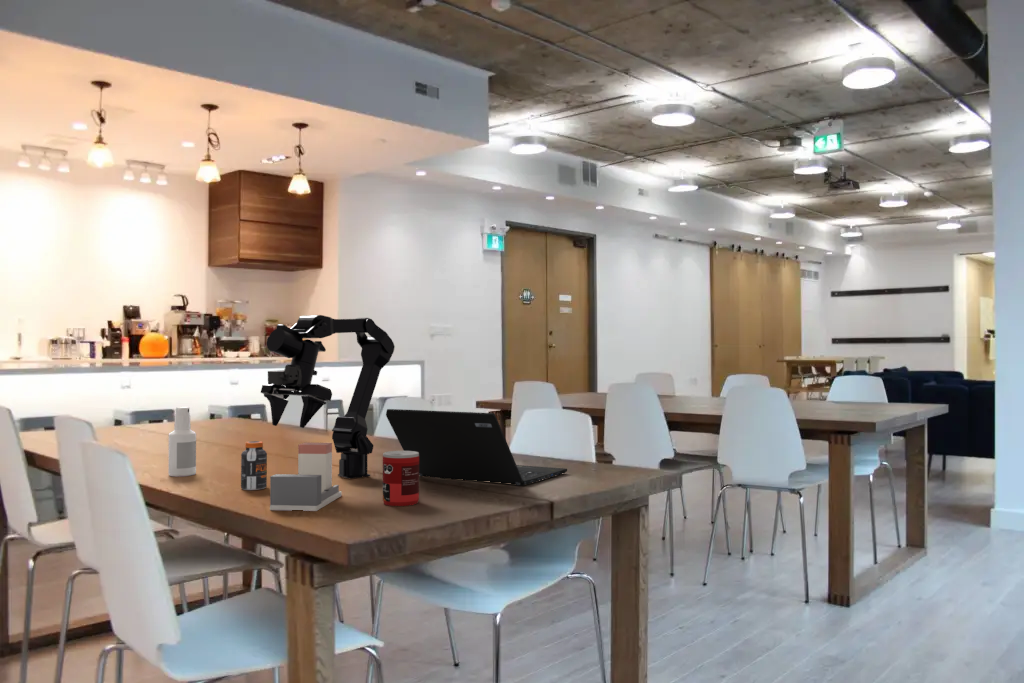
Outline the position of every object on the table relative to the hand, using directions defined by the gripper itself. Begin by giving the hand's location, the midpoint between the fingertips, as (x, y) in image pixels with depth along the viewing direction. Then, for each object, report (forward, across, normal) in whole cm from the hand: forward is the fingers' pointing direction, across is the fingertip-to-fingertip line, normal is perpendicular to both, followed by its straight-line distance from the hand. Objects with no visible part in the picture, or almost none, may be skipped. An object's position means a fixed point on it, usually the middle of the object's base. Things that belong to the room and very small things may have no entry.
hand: (287, 426), depth 189 cm
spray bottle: (+14, -41, +6) cm, 44 cm away
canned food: (+14, +33, +7) cm, 36 cm away
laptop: (+3, +30, +41) cm, 51 cm away
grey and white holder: (+17, +15, -2) cm, 23 cm away
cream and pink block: (+14, +13, +1) cm, 19 cm away
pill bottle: (+15, -9, +2) cm, 18 cm away
